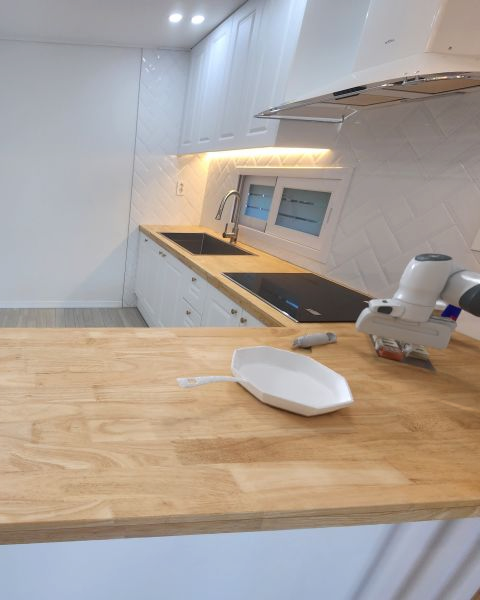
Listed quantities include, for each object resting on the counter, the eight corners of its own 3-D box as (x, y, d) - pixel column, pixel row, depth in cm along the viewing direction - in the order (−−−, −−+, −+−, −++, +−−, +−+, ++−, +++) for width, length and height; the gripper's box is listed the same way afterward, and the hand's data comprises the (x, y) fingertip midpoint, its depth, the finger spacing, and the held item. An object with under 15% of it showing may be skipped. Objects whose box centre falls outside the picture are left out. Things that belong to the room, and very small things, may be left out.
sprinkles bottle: (414, 339, 114) (431, 303, 109) (408, 334, 118) (425, 298, 113) (431, 342, 113) (450, 306, 108) (425, 337, 117) (442, 301, 112)
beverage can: (431, 339, 115) (451, 298, 110) (420, 332, 120) (438, 293, 115) (450, 342, 114) (471, 301, 108) (438, 334, 119) (458, 295, 113)
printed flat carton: (413, 340, 112) (415, 334, 111) (426, 360, 99) (430, 354, 99) (395, 336, 114) (398, 331, 113) (406, 355, 101) (409, 349, 101)
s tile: (397, 354, 102) (400, 348, 101) (400, 361, 98) (403, 354, 97) (378, 350, 104) (381, 344, 103) (381, 356, 100) (383, 350, 100)
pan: (371, 412, 77) (382, 389, 75) (211, 447, 64) (218, 421, 62) (280, 355, 100) (286, 336, 97) (149, 373, 87) (152, 352, 85)
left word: (389, 340, 111) (392, 335, 110) (396, 353, 103) (399, 347, 102) (372, 336, 113) (374, 331, 112) (377, 348, 105) (380, 342, 104)
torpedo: (325, 338, 112) (331, 320, 109) (339, 345, 108) (346, 326, 105) (285, 345, 106) (290, 326, 103) (298, 352, 102) (304, 333, 99)
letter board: (414, 343, 112) (415, 340, 112) (435, 373, 94) (437, 371, 94) (366, 332, 118) (366, 330, 118) (377, 358, 100) (378, 356, 100)
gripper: (455, 315, 93) (433, 358, 98) (363, 298, 103) (348, 338, 108) (464, 323, 88) (440, 368, 93) (366, 304, 98) (350, 346, 103)
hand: (390, 352), depth 101 cm, fingers closed on s tile, 4 cm apart
